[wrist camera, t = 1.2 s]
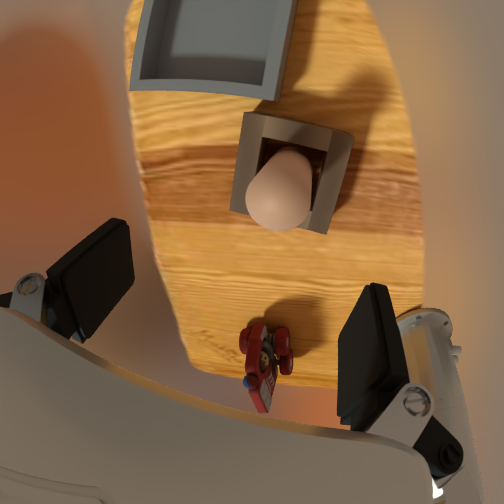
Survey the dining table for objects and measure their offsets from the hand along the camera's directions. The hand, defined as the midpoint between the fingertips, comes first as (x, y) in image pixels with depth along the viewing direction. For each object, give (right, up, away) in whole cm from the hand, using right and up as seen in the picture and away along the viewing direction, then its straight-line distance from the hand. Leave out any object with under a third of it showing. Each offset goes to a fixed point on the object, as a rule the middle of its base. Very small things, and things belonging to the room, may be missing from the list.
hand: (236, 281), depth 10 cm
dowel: (+5, +10, +17) cm, 20 cm away
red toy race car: (+3, -13, +32) cm, 34 cm away
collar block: (+5, +10, +17) cm, 20 cm away
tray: (-3, +24, +11) cm, 26 cm away
